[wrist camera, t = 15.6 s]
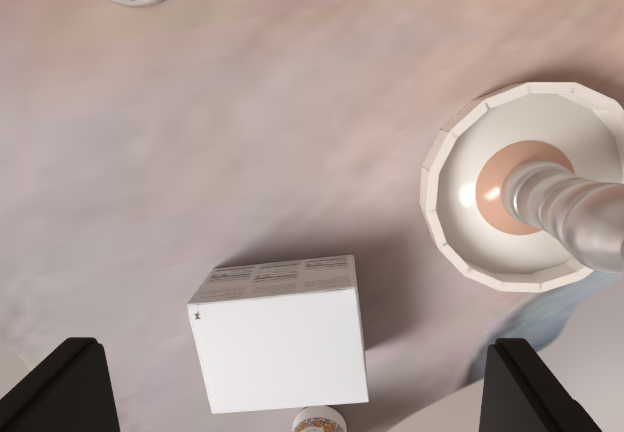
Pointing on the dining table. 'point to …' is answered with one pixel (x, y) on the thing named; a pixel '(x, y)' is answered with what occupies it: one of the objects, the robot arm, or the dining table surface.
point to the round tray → (500, 162)
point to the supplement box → (281, 335)
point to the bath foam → (319, 420)
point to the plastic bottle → (570, 211)
